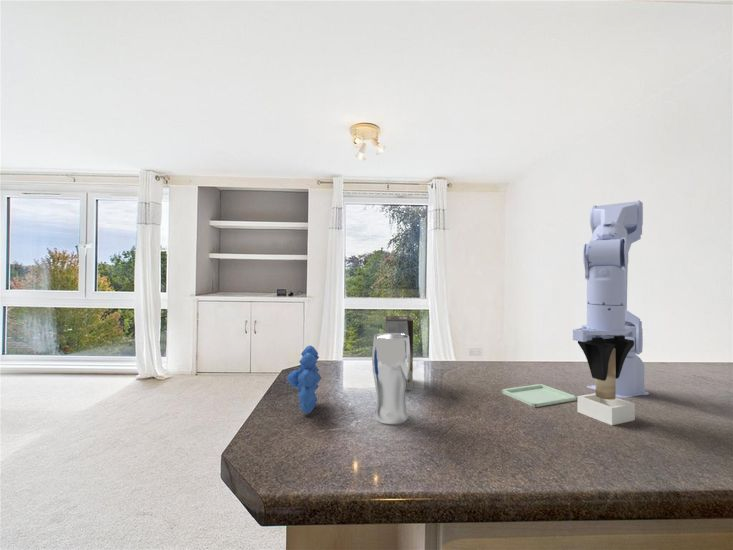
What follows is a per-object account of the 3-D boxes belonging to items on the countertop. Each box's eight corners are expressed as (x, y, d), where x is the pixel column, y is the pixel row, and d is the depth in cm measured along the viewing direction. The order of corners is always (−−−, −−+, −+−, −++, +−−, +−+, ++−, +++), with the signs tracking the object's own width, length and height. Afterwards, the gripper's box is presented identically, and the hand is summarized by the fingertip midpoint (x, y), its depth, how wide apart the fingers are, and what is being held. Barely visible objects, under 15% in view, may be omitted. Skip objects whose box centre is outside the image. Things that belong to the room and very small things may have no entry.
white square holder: (599, 410, 65) (599, 392, 65) (634, 423, 59) (634, 403, 59) (577, 414, 63) (577, 396, 63) (611, 428, 57) (611, 408, 57)
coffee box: (413, 390, 75) (414, 320, 76) (385, 390, 76) (386, 320, 76) (409, 378, 85) (409, 315, 85) (384, 378, 85) (385, 315, 85)
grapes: (290, 398, 70) (291, 341, 70) (322, 397, 70) (323, 341, 71) (280, 422, 58) (281, 354, 58) (319, 421, 59) (320, 353, 59)
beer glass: (413, 413, 63) (413, 334, 63) (405, 428, 56) (405, 340, 56) (378, 408, 65) (378, 331, 65) (366, 422, 58) (367, 337, 59)
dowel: (602, 393, 63) (602, 345, 63) (619, 398, 60) (619, 348, 60) (591, 394, 62) (591, 346, 62) (608, 400, 59) (608, 350, 59)
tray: (541, 388, 77) (541, 383, 77) (577, 402, 69) (577, 396, 69) (500, 395, 73) (500, 389, 73) (534, 410, 65) (534, 404, 65)
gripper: (609, 302, 67) (609, 368, 67) (557, 303, 62) (557, 375, 62) (649, 304, 61) (649, 378, 61) (595, 306, 56) (595, 387, 56)
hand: (605, 378), depth 61 cm, fingers closed on dowel, 3 cm apart
